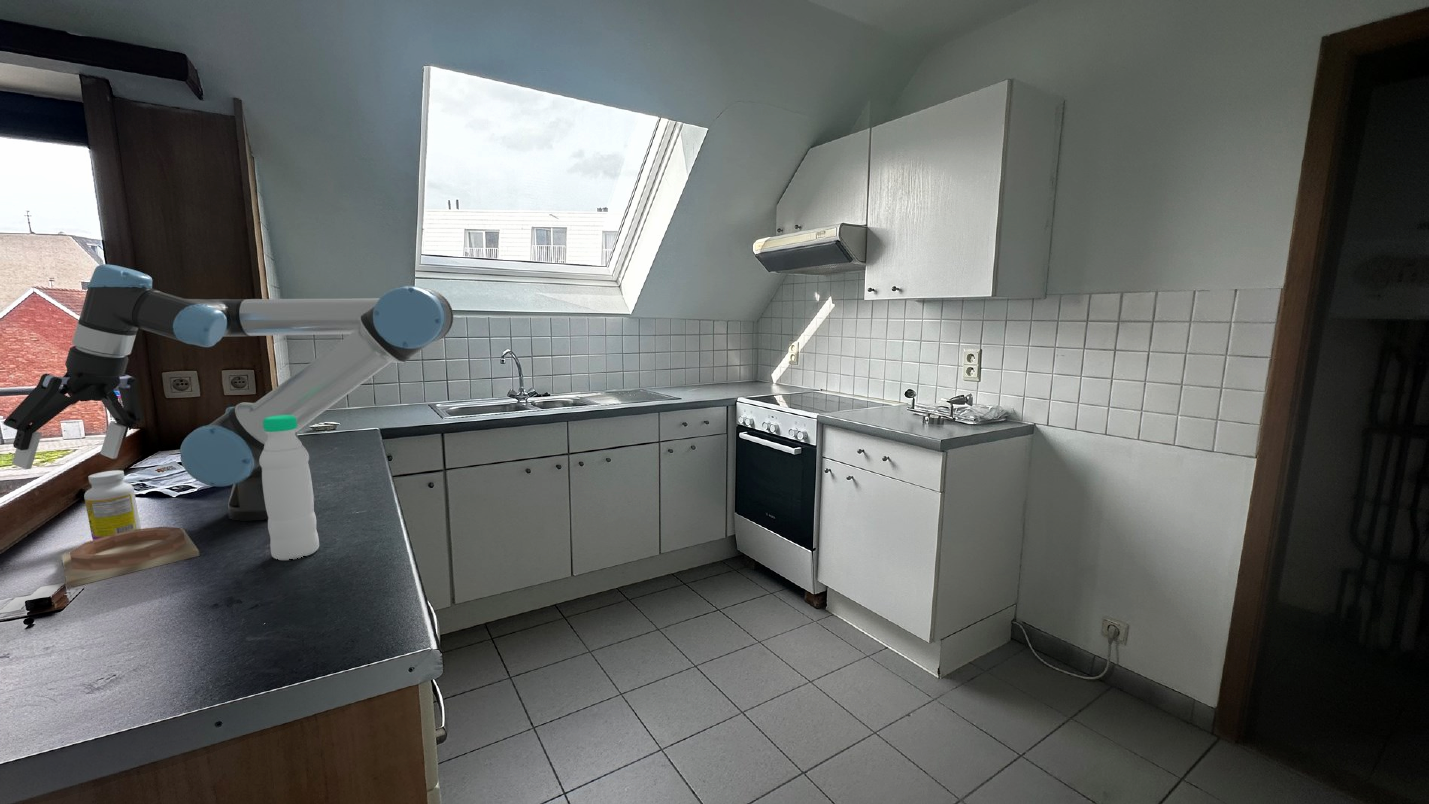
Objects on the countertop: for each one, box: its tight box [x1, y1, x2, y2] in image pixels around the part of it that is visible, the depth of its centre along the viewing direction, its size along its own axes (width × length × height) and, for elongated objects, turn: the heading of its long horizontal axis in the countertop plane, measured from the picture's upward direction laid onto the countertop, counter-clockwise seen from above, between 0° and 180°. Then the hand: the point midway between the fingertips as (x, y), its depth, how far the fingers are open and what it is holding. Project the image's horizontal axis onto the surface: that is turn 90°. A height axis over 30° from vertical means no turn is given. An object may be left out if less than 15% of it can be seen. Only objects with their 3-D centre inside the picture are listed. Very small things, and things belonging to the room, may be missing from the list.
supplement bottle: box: [83, 469, 142, 541], centre depth 113 cm, size 7×7×13 cm
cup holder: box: [61, 526, 200, 588], centre depth 105 cm, size 16×16×3 cm
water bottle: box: [259, 415, 320, 561], centre depth 105 cm, size 7×7×25 cm
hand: (67, 461), depth 108 cm, fingers open, 13 cm apart
